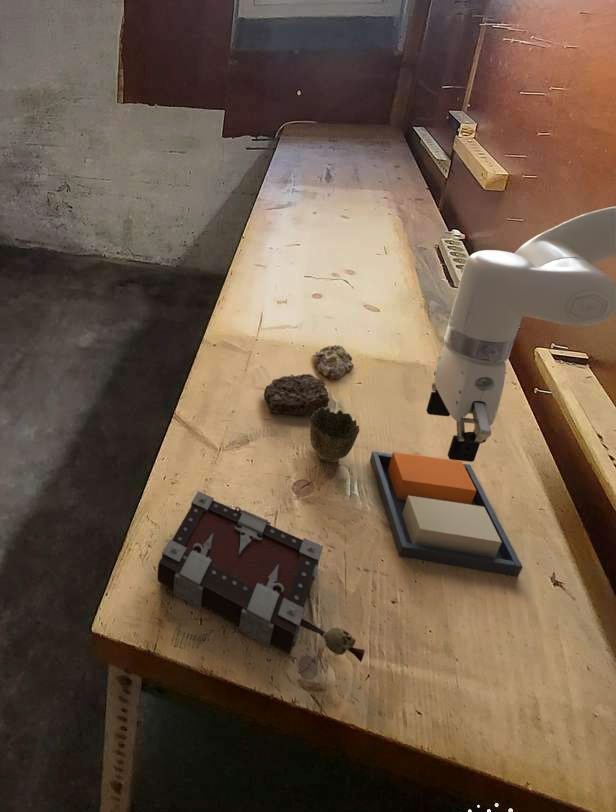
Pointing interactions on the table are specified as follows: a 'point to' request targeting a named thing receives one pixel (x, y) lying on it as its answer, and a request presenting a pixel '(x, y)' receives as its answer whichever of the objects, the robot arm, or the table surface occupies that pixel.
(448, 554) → the tray
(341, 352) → the mineral rock
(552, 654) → the table surface
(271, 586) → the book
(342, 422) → the cup
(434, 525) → the beige block
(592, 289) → the robot arm
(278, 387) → the dark brown rough stone
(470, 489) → the orange rectangular block
